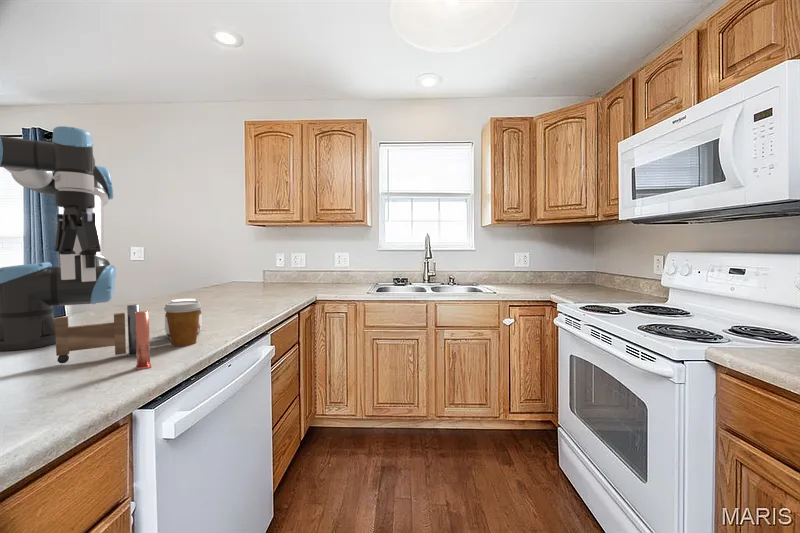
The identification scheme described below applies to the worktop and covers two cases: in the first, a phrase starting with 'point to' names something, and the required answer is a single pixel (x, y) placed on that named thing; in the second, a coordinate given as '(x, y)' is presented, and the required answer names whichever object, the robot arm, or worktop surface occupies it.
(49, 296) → the robot arm
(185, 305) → the disposable coffee cup
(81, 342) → the gate
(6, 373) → the worktop surface
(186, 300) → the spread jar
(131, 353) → the gate posts
